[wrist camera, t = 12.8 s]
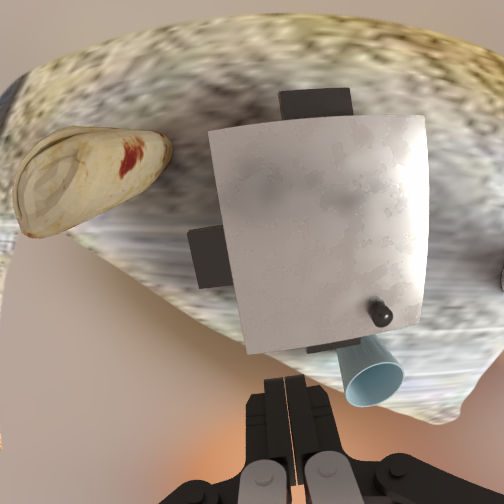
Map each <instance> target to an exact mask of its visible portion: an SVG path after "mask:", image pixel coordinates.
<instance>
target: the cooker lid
mask: <svg viewBox="0 0 504 504" xmlns="http://www.w3.org/2000/svg"><path fill="white" fill-rule="evenodd" d="M208 137H209V144H210V150H211V156H212V162H213V169H214V175H215V181H216V187H217V193H218V198H219V204H220V210H221V216H222V222H223V225H220V226H213V227H207V228H200V229H194V230H189V231H188V233H187V236H188V240H189V245H190V250H191V254H192V259H193V263H194V268H195V272H196V276H197V281H198V285H199V289H204V288H212V287H220V286H228V285H234V288H235V293H236V299H237V304H238V309H239V315H240V320H241V325H242V330H243V335H244V340H245V345H246V350H247V354H248V355H250V354H258V353H266V352H274V351H281V350H289V349H295V348H302V347H308V346H314V345H320V344H326V343H332V342H337V341H343V340H348V339H353V338H358V337H363V336H368V335H373V334H377V333H382V332H386V331H391V330H395V329H399V328H404V327H408V326H412V325H416V324H419V321H420V315H421V308H422V300H423V292H424V283H425V273H426V261H427V247H428V225H429V176H428V155H427V140H426V129H425V119H424V116H421V115H355V116H333V117H318V118H305V119H294V120H284V121H275V122H266V123H258V124H251V125H244V126H237V127H230V128H224V129H218V130H212V131H208Z"/></svg>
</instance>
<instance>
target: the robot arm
mask: <svg viewBox="0 0 504 504" xmlns="http://www.w3.org/2000/svg"><path fill="white" fill-rule="evenodd" d="M501 285H502V289H503V291H504V269H503V272H502V278H501ZM285 384H286V393H287V403H288V410H289V418H290V425H291V434H292V441H293V449H294V457H295V465H296V472H297V481H298V485H302V484H304V488H305V496H306V504H504V495H503V494H500V493H497V492H494V491H492V490H489V489H486V488H484V487H481V486H478V485H476V484H473V483H471V482H468V481H466V480H464V479H461V478H458V477H456V476H454V475H452V474H449V473H447V472H445V471H443V470H440V469H438V468H436V467H434V466H432V465H429V464H427V463H425V462H423V461H421V460H419V459H416V458H415V457H412V456H411V455H408V454H404V453H395V454H391V455H389V456H387V457H385V458H384V459H383V460H381V461H359V460H355V459H353V458H351V457H349V456H348V455H347V454H346V453H345V452H344V450H343V449H342V446H341V442H340V438H339V435H338V431H337V427H336V423H335V420H334V416H333V412H332V408H331V405H330V401H329V397H328V394H327V393H326V392H325V391H324V389H323V388H322V387H321V386H320V385H317V386H311V387H307V386H306V382H305V377H304V374H301V375H295V376H287V377H285ZM264 390H265V393H260V394H252V395H251V396H250V398H249V400H248V402H247V404H246V462H245V466H244V468H243V469H242V471H241V472H240V473H239V474H238V475H236V476H235V477H233V478H231V479H229V480H226V481H223V482H219V483H216V484H213V485H211V484H210V483H208V482H206V481H202V480H191V481H188V482H185V483H183V484H182V485H181V486H179V487H178V488H177V489H176V490H174V491H173V492H172V493H171V494H170V495H168V496H167V497H166V498H165V499H164V500H162V501H161V502H160V503H159V504H291V503H292V496H291V486H295V485H296V479H295V469H294V459H293V450H292V443H291V434H290V426H289V419H288V411H287V404H286V396H285V388H284V381H283V377H281V378H273V379H265V380H264Z"/></svg>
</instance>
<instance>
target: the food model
mask: <svg viewBox="0 0 504 504" xmlns="http://www.w3.org/2000/svg"><path fill="white" fill-rule="evenodd" d="M172 155H173V146H172V143H171V141H170V140H169V139H168V138H167V136H166V135H164V134H161V133H159V132H155V131H144V130H131V129H119V128H108V127H81V126H71V127H67V128H64V129H60V130H57V131H55V132H53V133H52V134H50V135H48V136H47V137H45V138H44V139H43V140H41V141H40V142H38V143H37V144H36V146H35V147H34V148H33V149H32V150H31V151H30V152H29V153H28V154H27V156H26V157H25V158H24V159H23V160H22V162H21V164H20V166H19V169H18V171H17V174H16V176H15V180H14V186H13V207H14V211H15V214H16V217H17V220H18V223H19V226H20V228H21V231H22V233H23V234H24V235H26V236H28V237H30V238H45V237H49V236H52V235H56V234H59V233H61V232H63V231H66V230H68V229H70V228H72V227H74V226H76V225H79V224H81V223H83V222H85V221H87V220H89V219H91V218H93V217H95V216H97V215H99V214H101V213H103V212H105V211H107V210H109V209H111V208H113V207H115V206H117V205H119V204H121V203H123V202H125V201H127V200H129V199H131V198H133V197H135V196H137V195H139V194H140V193H142V192H143V191H144V190H146V189H147V188H148V187H149V186H151V185H152V184H153V183H154V181H155V180H156V179H157V178H158V177H159V175H160V174H161V173H162V172H164V171H165V169H166V168H167V166H168V164H169V162H170V160H171V158H172Z"/></svg>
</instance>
